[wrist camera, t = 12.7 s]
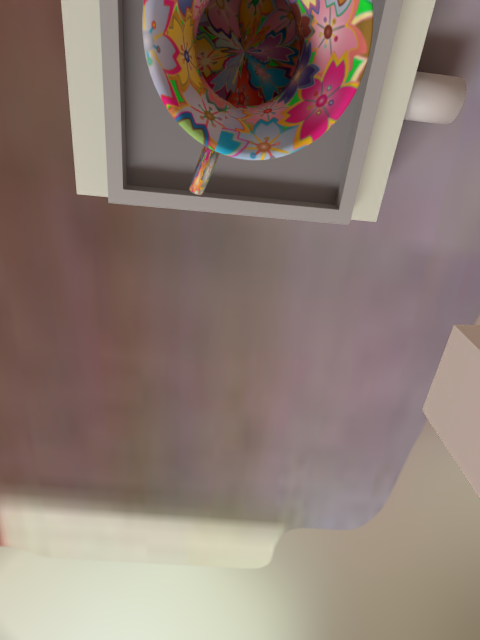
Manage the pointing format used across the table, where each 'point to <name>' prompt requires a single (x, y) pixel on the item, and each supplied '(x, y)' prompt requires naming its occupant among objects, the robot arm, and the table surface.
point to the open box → (232, 173)
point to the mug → (255, 71)
